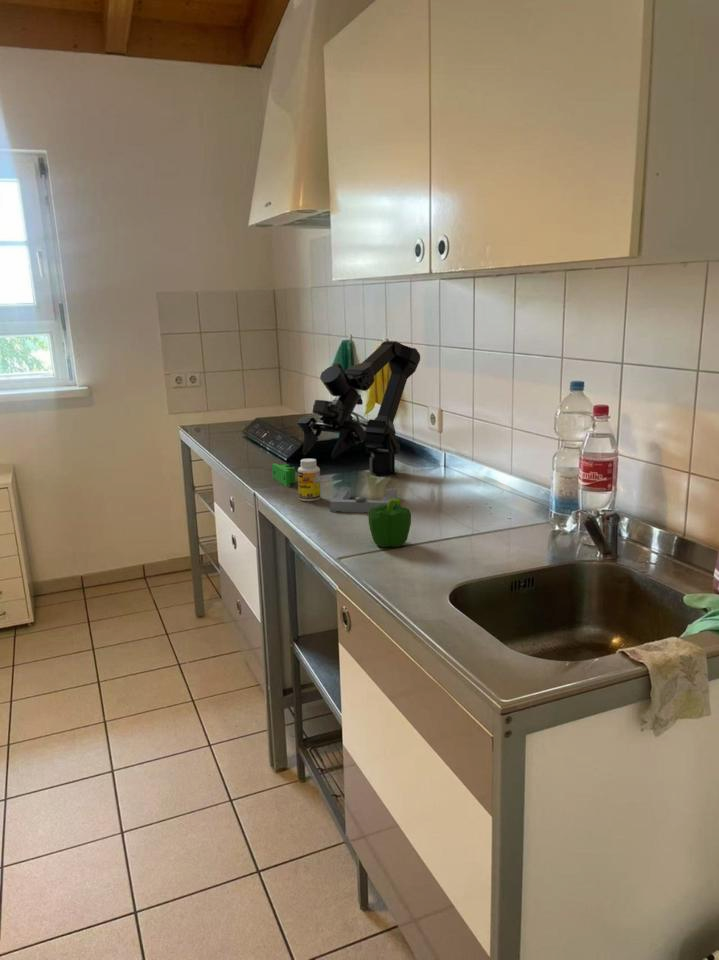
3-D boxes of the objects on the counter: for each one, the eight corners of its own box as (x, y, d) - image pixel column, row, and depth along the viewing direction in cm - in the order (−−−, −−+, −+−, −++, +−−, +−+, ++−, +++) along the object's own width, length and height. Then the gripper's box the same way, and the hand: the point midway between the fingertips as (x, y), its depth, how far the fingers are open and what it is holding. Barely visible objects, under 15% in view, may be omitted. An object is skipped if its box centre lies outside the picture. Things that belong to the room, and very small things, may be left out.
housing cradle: (341, 496, 187) (340, 484, 186) (397, 498, 184) (397, 485, 184) (330, 511, 173) (329, 498, 172) (390, 513, 171) (390, 500, 170)
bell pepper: (361, 542, 150) (361, 495, 148) (395, 536, 154) (395, 490, 152) (382, 554, 143) (382, 505, 141) (417, 546, 147) (417, 499, 145)
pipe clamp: (299, 486, 200) (298, 469, 199) (286, 487, 198) (286, 471, 197) (285, 477, 209) (284, 462, 208) (272, 479, 208) (272, 463, 207)
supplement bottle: (294, 500, 184) (292, 460, 182) (308, 495, 188) (307, 456, 186) (311, 503, 181) (309, 463, 179) (325, 498, 185) (323, 459, 183)
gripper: (300, 386, 191) (274, 433, 185) (358, 389, 180) (333, 440, 174) (320, 412, 199) (295, 458, 193) (376, 417, 189) (352, 466, 182)
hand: (317, 455), depth 185 cm, fingers open, 9 cm apart
